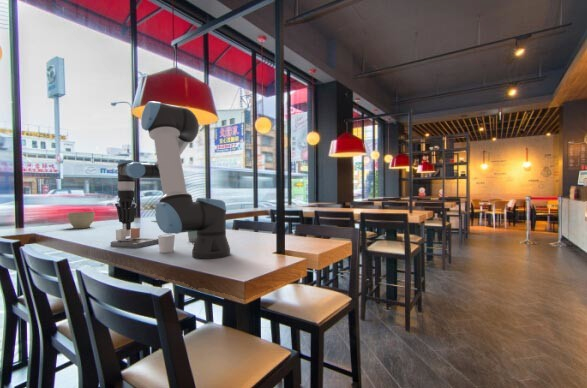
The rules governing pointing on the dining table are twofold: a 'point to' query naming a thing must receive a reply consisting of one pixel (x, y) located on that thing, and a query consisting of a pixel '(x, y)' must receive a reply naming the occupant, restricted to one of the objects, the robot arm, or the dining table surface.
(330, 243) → the dining table surface
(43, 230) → the dining table surface
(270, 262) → the dining table surface
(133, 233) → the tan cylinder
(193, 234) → the coffee cup
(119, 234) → the cylinder
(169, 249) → the white tapered cup
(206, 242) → the robot arm
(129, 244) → the dark grey tray
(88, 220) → the planter bowl
